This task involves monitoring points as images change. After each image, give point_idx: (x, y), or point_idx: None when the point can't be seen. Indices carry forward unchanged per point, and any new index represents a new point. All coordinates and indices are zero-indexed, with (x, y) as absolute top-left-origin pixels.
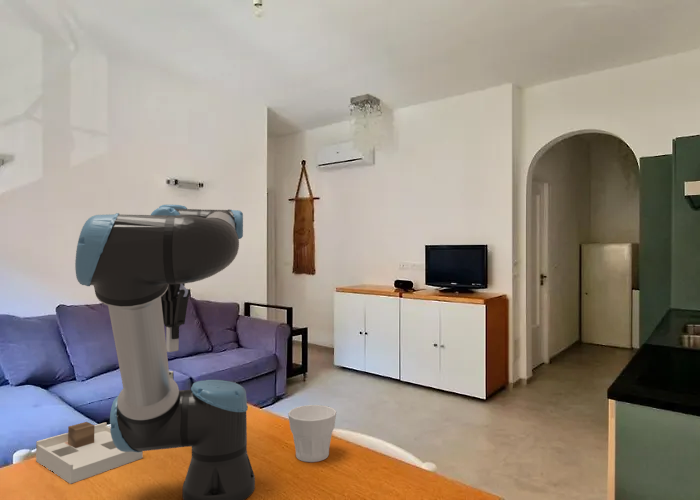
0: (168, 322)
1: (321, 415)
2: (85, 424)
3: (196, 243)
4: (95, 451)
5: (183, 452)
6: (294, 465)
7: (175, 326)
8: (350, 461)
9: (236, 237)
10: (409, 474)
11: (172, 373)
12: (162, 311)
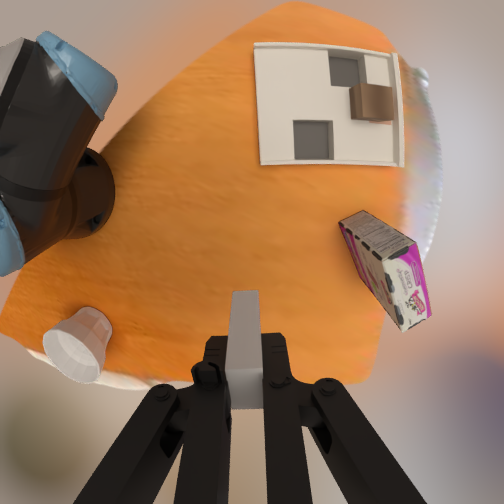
0: (263, 398)
1: (91, 372)
2: (380, 109)
3: None
4: (306, 100)
5: (226, 221)
6: (82, 293)
7: (193, 387)
8: None
9: None
10: (25, 335)
11: (399, 327)
12: (344, 448)
